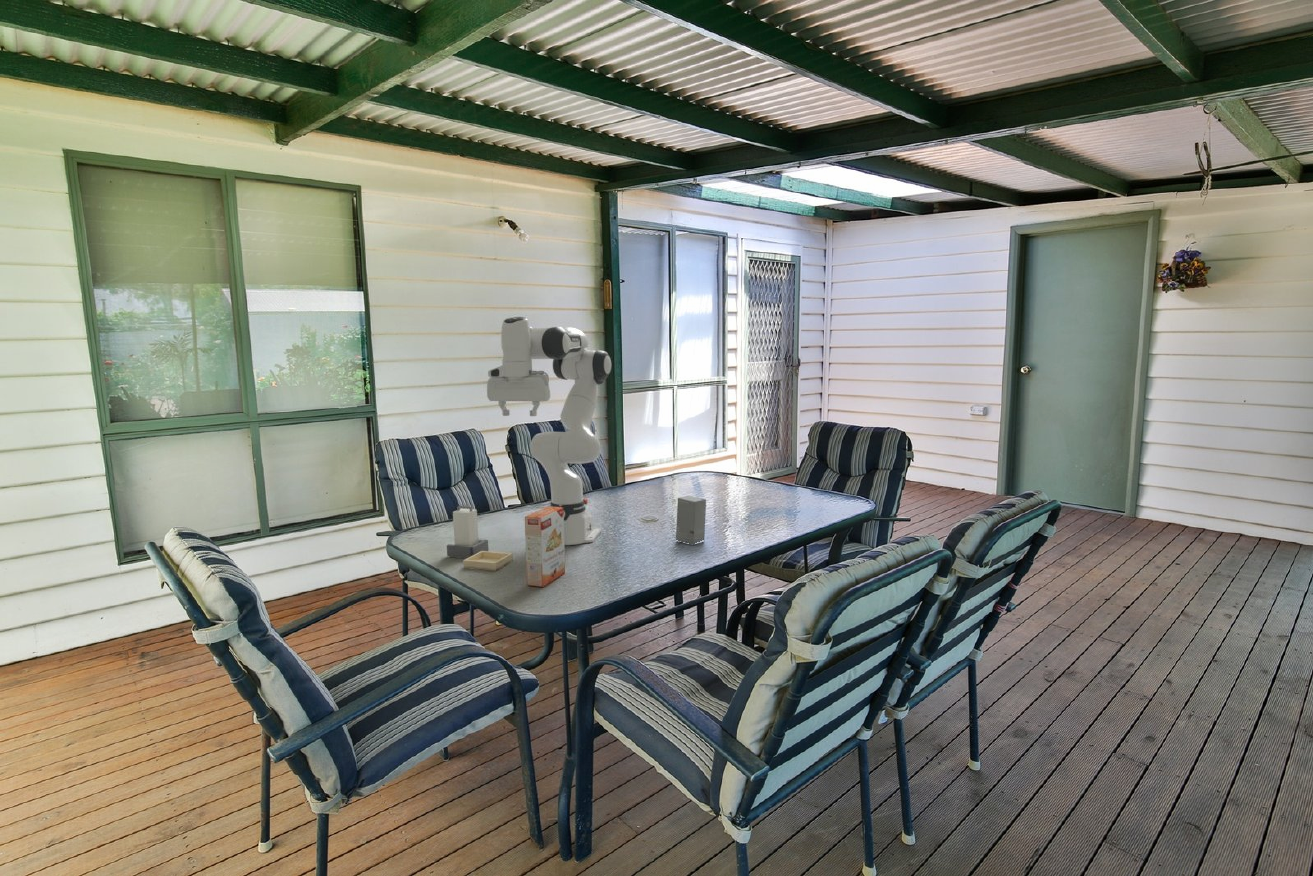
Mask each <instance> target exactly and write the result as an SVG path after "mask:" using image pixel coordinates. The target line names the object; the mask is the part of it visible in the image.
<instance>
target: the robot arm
mask: <svg viewBox="0 0 1313 876" xmlns="http://www.w3.org/2000/svg"><path fill="white" fill-rule="evenodd" d="M500 332H501V333H500V334H501V335H500V340H501V342H500V343H501V344H500V345H501V350H502V359H501V361H502V362H501V363H502V365H500V366H497V367H495V368H492V369H489V370H488V371H487V376H488V377H489V379H488V380H487V382H486V383H487V384H486V396H487V399H488V400H489V401H490V402H498V406H499V408H500V410H501V411H502V412H501V413H502V416H503V417H508V416H510V409H508V408H507V406H506V405H507V402H531V403H532V404H531V405H532V409H531V410H529V416H530V417H537V410H538V409H539V408H540V407H539V406H540V405H541V403H540V402H547V401H549V400H550V399H551V390H550V389H551V388H550V384H549V381H550V380H549V379H550V377H549V375H548V373H547V372H545V370H533V360H552V371H553V373H554V375H555V376H556V378H557V379H561V380H564V381H565V380H566V381H567V380H572V381H574V384H573V385H572V387H571V388H570V390H569V393H568V395H567V397H566V398H565V399H566V400H565V401H564V404H563V407H562V409H561V412H560V421H561V423H562V425H563V427H564V428H566V429H567V430H566V431H546V432H545V431H543V432H540V433H536V434H535V435H534V436H533V437H532V439H531V441H530V444H529V445H530V446H529V448H530V453H531V455H532V457H533V458H534V459H535V460H536V461H537V462H539V464H540V465H541V466H542V468H543V469H544V470H545V472H546V475H547V476H548V480H549V484H550V485H549V487H550V494H551V497H550V498H551V501H550V507H562V508H564V546H571V545H572V546H573V545H580V544H585V543H586V544H587V543H593V542H595V540H596V539H597V537H598V536H599V535H600V533H601V532H602V530H601V528H598V527H595V519H594V518H595V517H594V516H593V515H591V513H589V512H588V510H586V505H588V501H589V500H588V498H584V496H583V495H584V494H583V480H582V479H581V477H580V476H579V475H578V474H577V473H576V472H573V471H572V470H571V468H570V467H569V464H577V465H578V464H581V465H582V464H589V463H593V462H595V461H596V460H598V458H599V456H600V454H601V449H602V447H601V443H600V440H599V438H598V437H597V436H596V435H595V434H594V433H593V432H592V429H591V423H592V419H593V415H594V412H595V409H596V406H597V403H598V396H599V388H598V385H602V384H604V382H605V380H607V378H608V377H609V376H610V374H611V372H612V358H611V356H610V354H609V353H608V352H607V351H605V350H600V349H597V350H593V349H588V347H589V339H588V336H587V335H586V333H584V332H583V331H582V330H580V329H577V328H575V327H570V326H552V327H537V328H536V327H535V328H533V327H532V326H530V325H529V320H528V318H527V317H524V316H515V317H508V318H506V319H503V321H502V326H501V331H500Z"/></svg>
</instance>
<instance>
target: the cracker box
mask: <svg viewBox="0 0 1313 876" xmlns="http://www.w3.org/2000/svg"><path fill="white" fill-rule="evenodd" d="M524 533H525V535H524V537H525V539H524V540H525V563H526V564H525V566H526V568H525V569H526V585H527V586H532V587H538V588H544V587H546V586H547V585H549V584H550V583H552V582H553V581H555V580H556V579H558V578H560V577H561V576H563V575H564V574H566V563H565V562H566V560H565V559H566V557H565V556H566V555H565V554H566V553H565V552H566V551H565V545H564V508H562V507H550V506H549V505H548V506H546V507H543V508H541V509H538V510H536V511H534V512H532V513H530V514H528V515H525V516H524Z"/></svg>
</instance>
